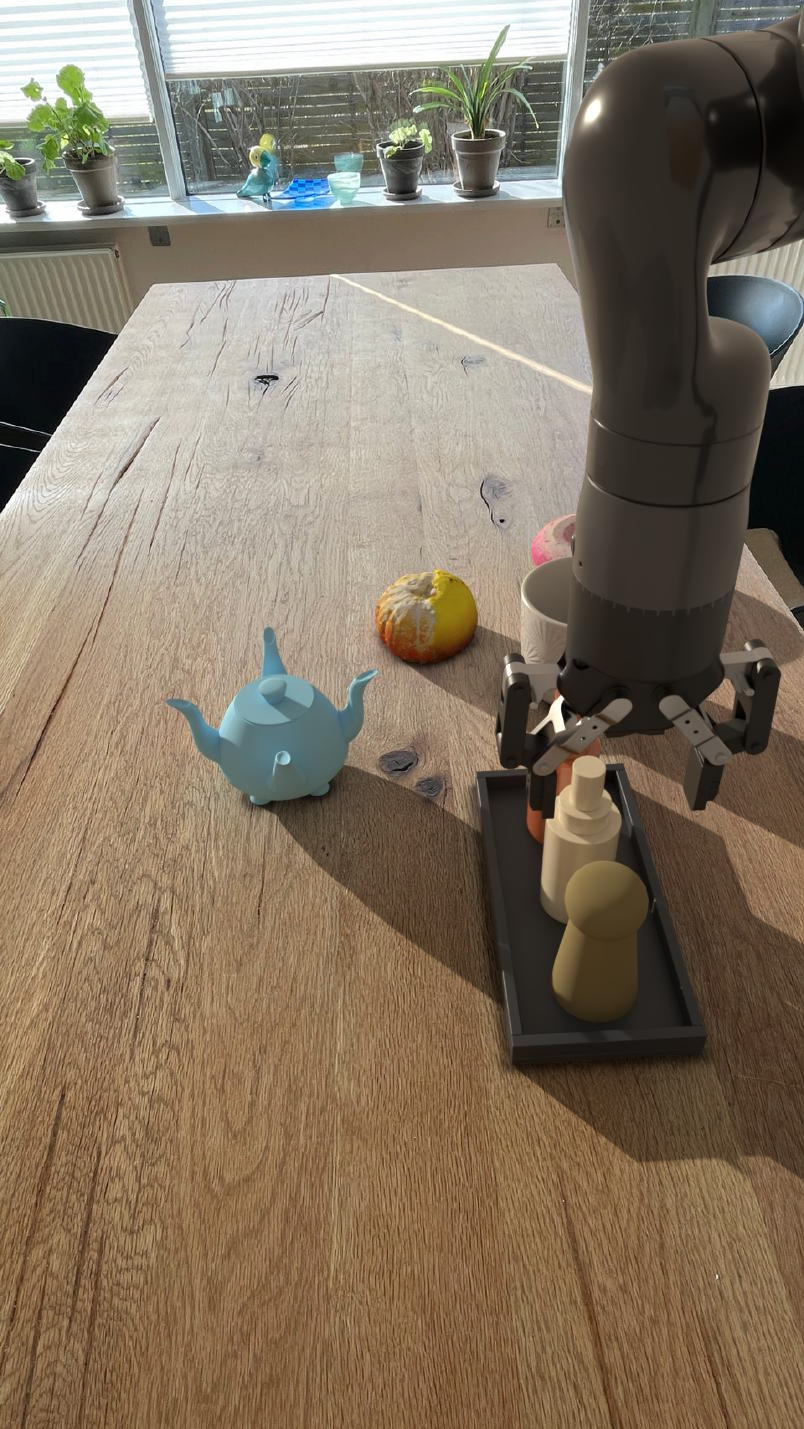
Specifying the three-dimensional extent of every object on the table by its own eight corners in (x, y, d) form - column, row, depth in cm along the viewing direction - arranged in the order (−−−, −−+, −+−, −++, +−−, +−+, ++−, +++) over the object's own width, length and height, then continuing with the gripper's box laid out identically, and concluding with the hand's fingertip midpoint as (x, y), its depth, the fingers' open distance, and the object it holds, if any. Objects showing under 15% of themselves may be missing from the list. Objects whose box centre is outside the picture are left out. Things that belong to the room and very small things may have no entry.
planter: (535, 735, 87) (541, 638, 80) (503, 655, 96) (506, 562, 89) (665, 716, 88) (682, 620, 81) (621, 639, 98) (633, 547, 90)
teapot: (283, 709, 92) (268, 622, 85) (392, 760, 85) (386, 671, 79) (186, 787, 84) (162, 699, 77) (299, 850, 78) (283, 760, 71)
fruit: (401, 592, 105) (418, 536, 99) (482, 639, 103) (505, 583, 97) (348, 645, 98) (363, 586, 92) (434, 695, 96) (455, 639, 90)
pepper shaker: (566, 936, 69) (577, 834, 62) (648, 965, 67) (669, 863, 60) (537, 1002, 65) (546, 902, 58) (624, 1035, 63) (644, 935, 56)
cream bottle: (623, 902, 71) (646, 771, 62) (572, 938, 69) (588, 806, 60) (575, 860, 75) (590, 729, 66) (525, 893, 72) (533, 762, 63)
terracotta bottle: (604, 829, 77) (622, 698, 68) (556, 859, 75) (568, 728, 66) (559, 793, 80) (571, 663, 71) (513, 821, 78) (519, 691, 69)
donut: (521, 597, 104) (523, 558, 101) (541, 536, 114) (543, 499, 111) (646, 611, 101) (652, 571, 98) (656, 548, 111) (661, 509, 108)
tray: (701, 1054, 63) (707, 1035, 61) (511, 1065, 63) (512, 1046, 61) (620, 782, 82) (623, 762, 81) (475, 790, 82) (475, 771, 81)
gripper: (511, 614, 41) (503, 861, 52) (838, 595, 41) (764, 846, 52) (492, 529, 47) (488, 767, 57) (780, 512, 47) (723, 753, 57)
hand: (619, 804), depth 55 cm, fingers open, 8 cm apart
